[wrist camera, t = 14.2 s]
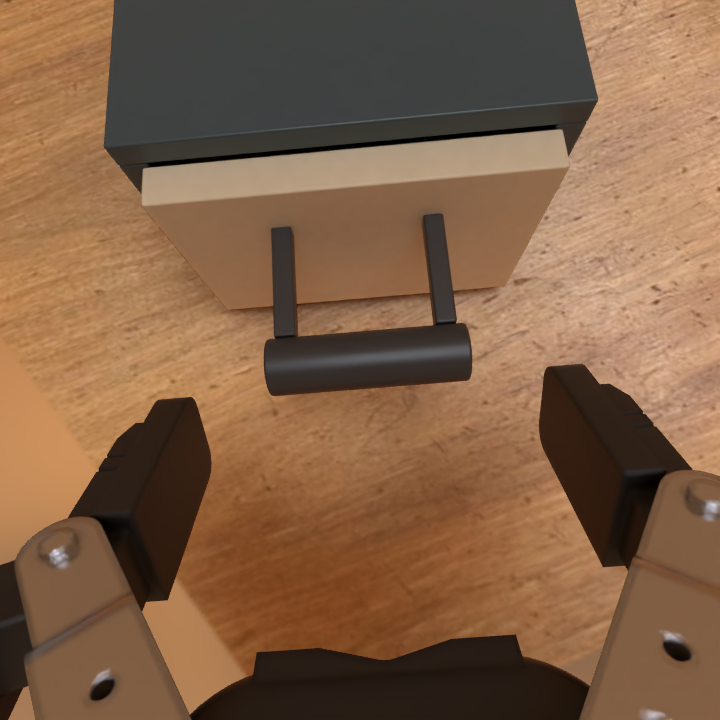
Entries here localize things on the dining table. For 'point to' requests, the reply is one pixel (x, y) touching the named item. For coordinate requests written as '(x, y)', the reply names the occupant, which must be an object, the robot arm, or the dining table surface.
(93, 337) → the dining table surface
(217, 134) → the cabinet
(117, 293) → the dining table surface
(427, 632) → the dining table surface
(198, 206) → the drawer
